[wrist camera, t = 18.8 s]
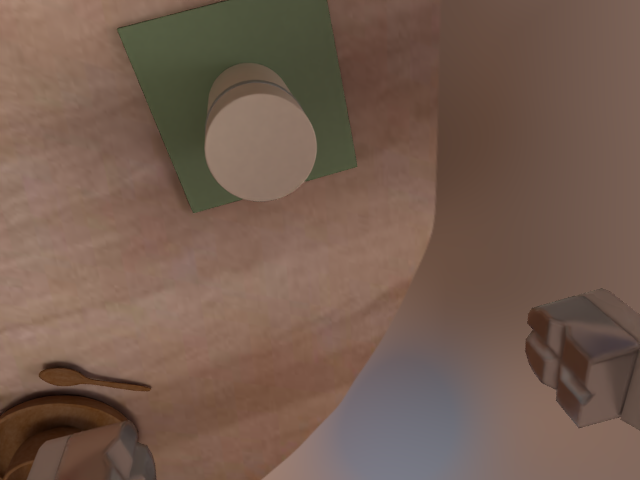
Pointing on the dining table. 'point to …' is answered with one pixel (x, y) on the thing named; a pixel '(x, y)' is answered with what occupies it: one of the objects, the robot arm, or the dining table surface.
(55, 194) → the dining table surface
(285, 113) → the container
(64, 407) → the place setting
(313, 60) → the mat
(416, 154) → the dining table surface
